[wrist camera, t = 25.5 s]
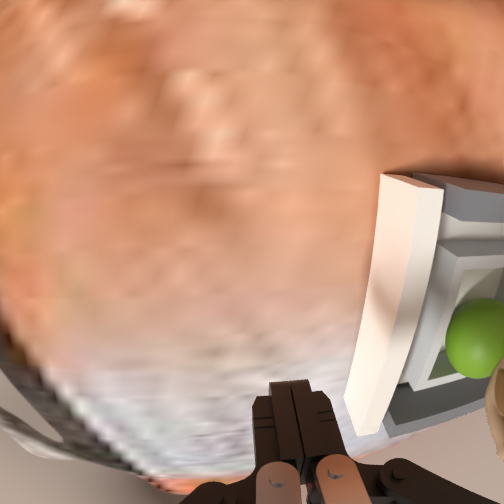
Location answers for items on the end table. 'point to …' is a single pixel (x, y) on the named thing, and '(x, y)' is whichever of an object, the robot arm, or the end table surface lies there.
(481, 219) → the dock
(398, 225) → the tray
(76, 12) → the end table surface
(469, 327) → the snail figurine
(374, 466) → the robot arm
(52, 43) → the end table surface
